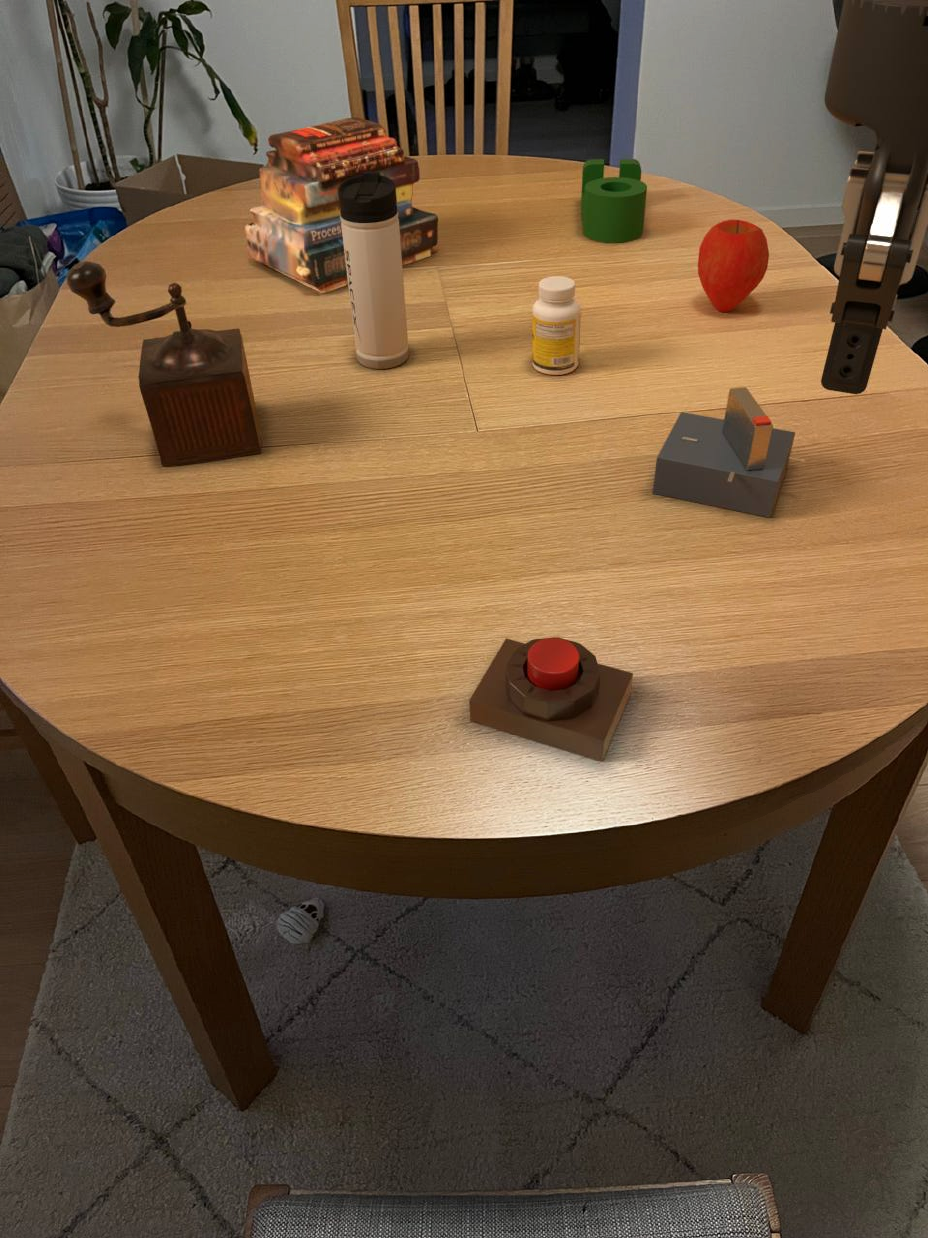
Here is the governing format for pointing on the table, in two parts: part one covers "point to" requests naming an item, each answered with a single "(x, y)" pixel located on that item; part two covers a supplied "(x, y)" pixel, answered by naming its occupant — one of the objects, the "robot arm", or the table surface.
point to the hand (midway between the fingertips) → (843, 385)
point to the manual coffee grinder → (185, 379)
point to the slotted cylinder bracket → (613, 202)
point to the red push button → (553, 664)
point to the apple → (732, 262)
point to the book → (329, 200)
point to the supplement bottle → (556, 327)
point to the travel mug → (374, 269)
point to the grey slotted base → (719, 467)
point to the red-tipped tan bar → (747, 428)
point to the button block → (552, 702)
